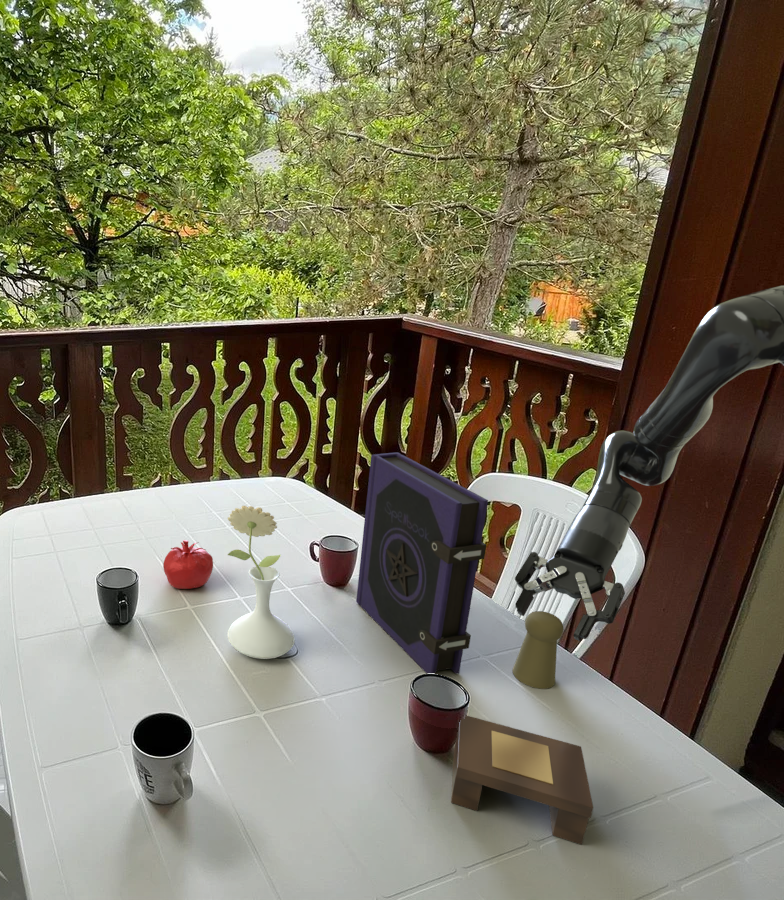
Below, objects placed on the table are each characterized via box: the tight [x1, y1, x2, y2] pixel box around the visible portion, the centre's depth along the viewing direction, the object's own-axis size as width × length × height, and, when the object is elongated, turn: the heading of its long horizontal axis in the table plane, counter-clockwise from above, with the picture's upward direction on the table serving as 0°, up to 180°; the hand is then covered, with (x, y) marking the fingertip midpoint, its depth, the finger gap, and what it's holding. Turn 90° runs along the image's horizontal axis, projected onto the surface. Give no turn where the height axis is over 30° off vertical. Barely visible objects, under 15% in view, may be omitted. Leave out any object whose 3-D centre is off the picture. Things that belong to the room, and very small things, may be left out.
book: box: [355, 452, 489, 675], centre depth 107 cm, size 24×6×30 cm, turn 15°
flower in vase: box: [226, 505, 296, 660], centre depth 105 cm, size 13×11×25 cm
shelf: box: [450, 714, 594, 846], centre depth 78 cm, size 14×10×6 cm
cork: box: [512, 610, 565, 690], centre depth 100 cm, size 6×6×11 cm
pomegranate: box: [162, 539, 214, 590], centre depth 127 cm, size 10×10×9 cm
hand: (547, 625), depth 99 cm, fingers open, 8 cm apart
